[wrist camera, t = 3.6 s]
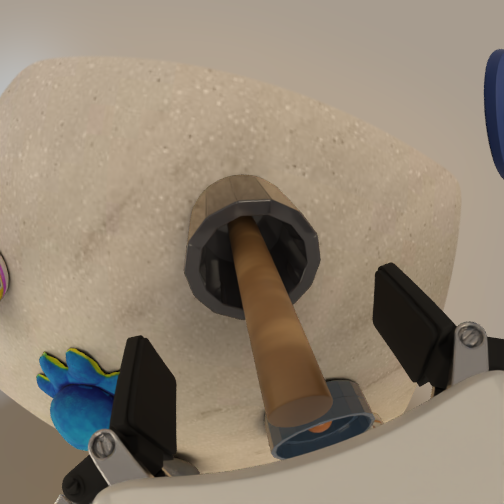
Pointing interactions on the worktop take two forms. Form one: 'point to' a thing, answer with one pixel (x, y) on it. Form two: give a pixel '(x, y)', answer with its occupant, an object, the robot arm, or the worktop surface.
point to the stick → (276, 334)
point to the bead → (320, 427)
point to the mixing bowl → (342, 427)
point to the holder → (271, 228)
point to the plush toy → (77, 396)
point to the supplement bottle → (3, 278)
